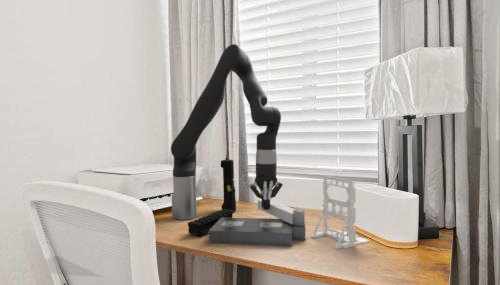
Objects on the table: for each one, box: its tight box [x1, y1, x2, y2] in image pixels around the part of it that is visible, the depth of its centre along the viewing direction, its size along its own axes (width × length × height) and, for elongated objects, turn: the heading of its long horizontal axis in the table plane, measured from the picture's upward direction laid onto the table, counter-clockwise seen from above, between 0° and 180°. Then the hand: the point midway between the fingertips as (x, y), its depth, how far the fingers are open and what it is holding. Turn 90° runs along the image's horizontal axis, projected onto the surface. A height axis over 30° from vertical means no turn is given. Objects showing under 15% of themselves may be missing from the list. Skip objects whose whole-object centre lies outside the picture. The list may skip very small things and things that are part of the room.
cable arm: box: [257, 199, 306, 226], centre depth 119 cm, size 28×4×4 cm, turn 25°
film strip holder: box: [310, 174, 370, 250], centre depth 105 cm, size 14×14×20 cm
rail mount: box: [187, 209, 234, 238], centre depth 120 cm, size 21×6×5 cm, turn 150°
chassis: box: [208, 217, 306, 247], centre depth 110 cm, size 30×16×4 cm, turn 81°
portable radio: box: [220, 153, 237, 212], centre depth 145 cm, size 8×6×25 cm
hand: (265, 209), depth 121 cm, fingers closed
